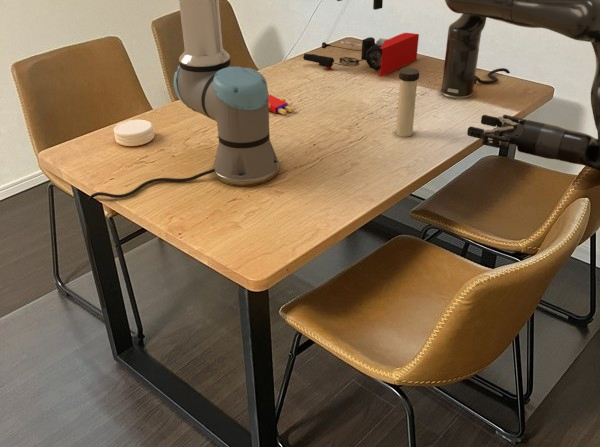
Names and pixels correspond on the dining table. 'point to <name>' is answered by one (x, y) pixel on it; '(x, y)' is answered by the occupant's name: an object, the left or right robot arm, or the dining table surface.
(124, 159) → the dining table surface
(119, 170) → the dining table surface
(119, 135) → the white short cylinder
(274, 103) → the toy figure
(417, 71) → the lid
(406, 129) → the beige long cylinder
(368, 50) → the electric hoist
